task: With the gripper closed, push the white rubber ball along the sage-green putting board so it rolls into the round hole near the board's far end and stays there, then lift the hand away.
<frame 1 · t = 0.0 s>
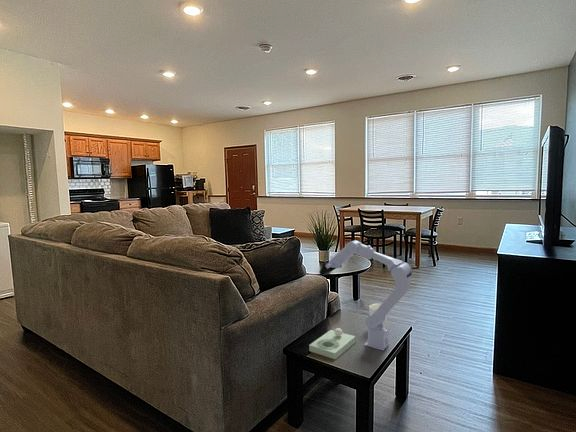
hand: (324, 271, 178), 32 cm above the table, tool tilted 50°, fingers open, 7 cm apart
ball: (338, 332, 168), point 5 cm above the table, touching putting board
candle holder: (378, 328, 182), on the table
putting board: (333, 346, 164), on the table
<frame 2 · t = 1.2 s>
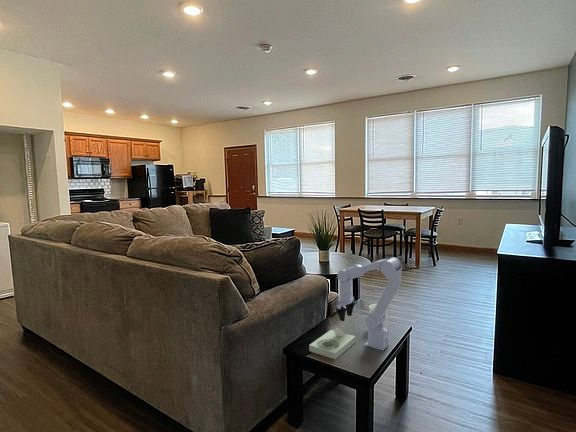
hand: (345, 318, 174), 9 cm above the table, tool pointing down, fingers open, 7 cm apart
nothing on the table moved.
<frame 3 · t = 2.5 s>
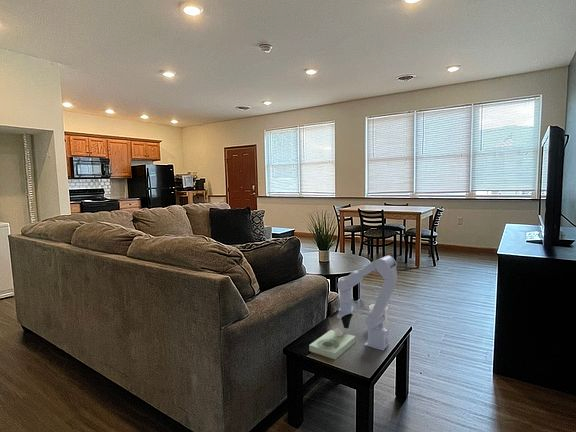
hand: (346, 327, 174), 4 cm above the table, tool pointing down, fingers closed
nothing on the table moved.
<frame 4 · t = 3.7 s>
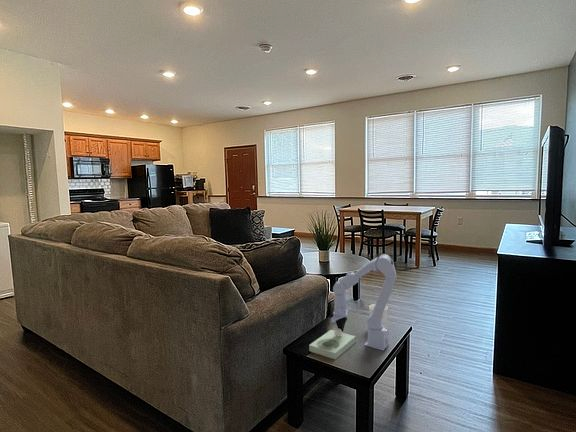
hand: (340, 331, 170), 4 cm above the table, tool pointing down, fingers closed, pressing on ball
ball: (338, 332, 168), point 5 cm above the table, touching gripper, putting board
everything else where it was.
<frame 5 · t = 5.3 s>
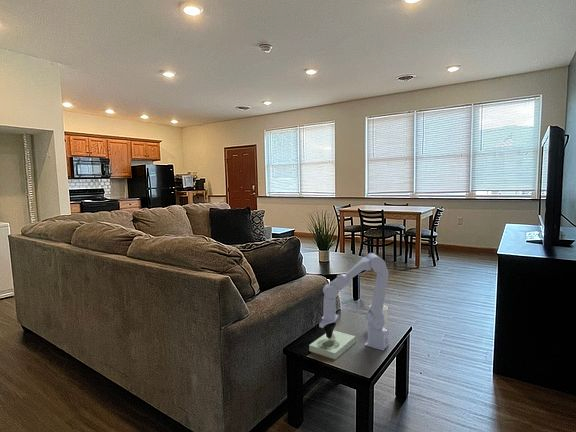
hand: (328, 337, 162), 5 cm above the table, tool pointing down, fingers closed, pressing on ball
ball: (331, 336, 163), point 5 cm above the table, tilted 164°, touching gripper, putting board
everything else where it was.
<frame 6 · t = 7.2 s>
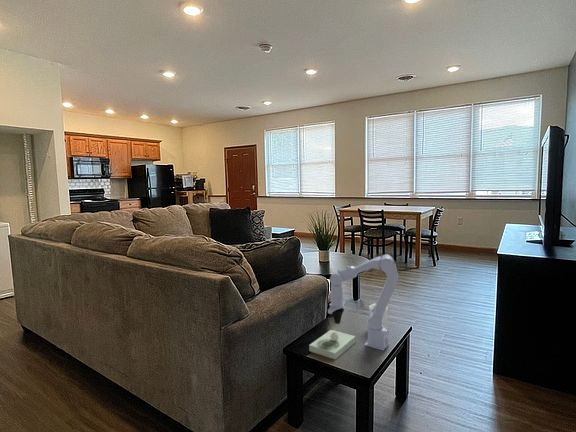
hand: (337, 323, 168), 9 cm above the table, tool pointing down, fingers closed
ball: (334, 336, 163), point 5 cm above the table, tilted 146°, touching putting board
everything else where it was.
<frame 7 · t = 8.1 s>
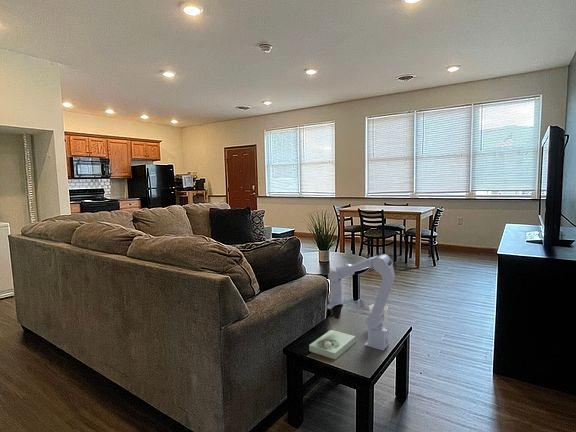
hand: (336, 318, 174), 9 cm above the table, tool pointing down, fingers closed
ball: (327, 345, 161), point 2 cm above the table, tilted 152°
everything else where it was.
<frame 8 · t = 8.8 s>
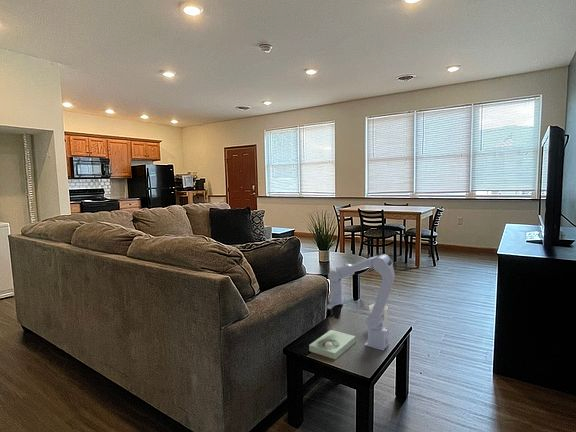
hand: (336, 318, 174), 9 cm above the table, tool pointing down, fingers closed
ball: (328, 346, 160), point 2 cm above the table, tilted 133°
everything else where it was.
at the end: ball 0.5 cm from the target spot on the putting board, point 2.0 cm above the putting board's base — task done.
